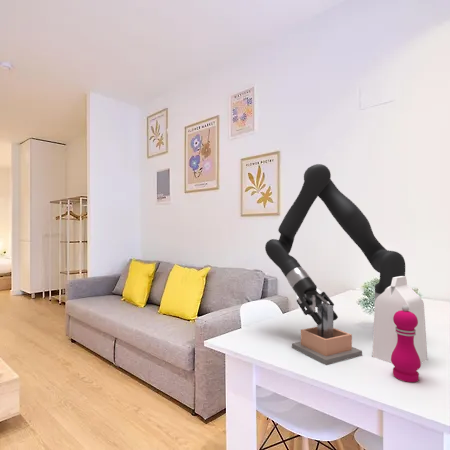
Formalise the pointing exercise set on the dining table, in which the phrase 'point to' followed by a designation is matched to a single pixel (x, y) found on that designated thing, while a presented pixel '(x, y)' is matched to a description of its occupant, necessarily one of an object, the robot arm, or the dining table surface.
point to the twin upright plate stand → (325, 321)
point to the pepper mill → (405, 347)
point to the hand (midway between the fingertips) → (328, 321)
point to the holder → (326, 346)
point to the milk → (385, 325)
